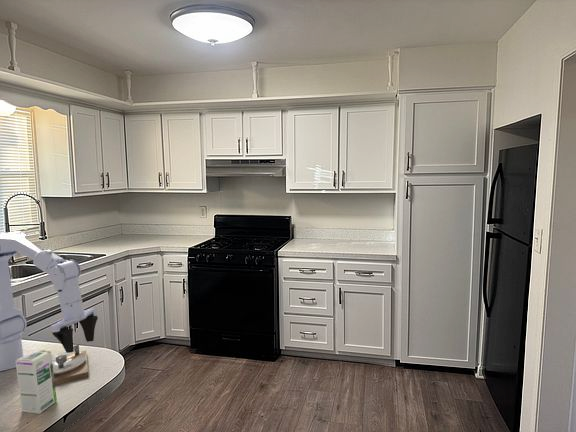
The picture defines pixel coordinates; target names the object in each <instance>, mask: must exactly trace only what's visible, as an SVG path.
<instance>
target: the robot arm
mask: <svg viewBox="0 0 576 432" xmlns="http://www.w3.org/2000/svg"><path fill="white" fill-rule="evenodd" d="M15 254H21V255H23V256H25V257H26V258H29V259H30V260H33V261H32V262H33V265H34V267H36V268H37V269H39V270H41V271H42V272H44V273H46V274H47V275H48V279H49V281H50V282H51V283H52V285H53V287H54V288H53V289H54V290H55V291H56V292H57V296H58V302H59V306H60V310H61V315H62V319H61V320H59V321H57V322H56V323H53V324H51V325H50V329H51V333H52V336H54V337H55V338H56V339H57V340H58V342H59V343H60V344H61V345H62V347H63V349H64V352H66V353H71V352H73V351H74V341H73V334H74V333H73V332H74V328H69V327H70V326H72V325H75V324H76V323H78V322H79V324H80V326H81V328H82V330H83V331H82V332H83V334H84V337H85V341H86V343H88V342H93V341H95V340H94V339H95V329H96V324H97V321H98V319H99V318H98V315H97V311H96V308H95V307H94V308H88V309H85V308H84V303H83V299H82V294H81V289H80V284H79V280H78V278H79V277H80V276H81V266H80V264H79V263H78V262H77V261H76V260H75V259H69V260H68V259H64V258H63V257H61V256H59V255H58V254H56V253H55V252H53V250H51V249H43V250H42V249H41V248H39V247H38V246H36V245H35V244H34V243H32V242H31V241H30V240H29V239H28V236H27V234H26V233H24V232H23V231H20V230H15V231H11V232H4V233H0V372H2V371H6V370H11V369H12V370H13V369H16V360H17V359H20V358H21V357H23V356H25V355H27V354H28V353H24V351H23V349H24V348H23V342H22V341H23V339H22V336H23V335H24V332H25V331H26V329H27V325H28V324H27V323H28V322H27V320H26V317H25V316H24V315H25V314H24V311H23V310H21V309H19V308H16V307H15V302H14V295H13V287H12V281H11V273H10V266H9V260H10V259H11V258H12V257H13V256H14V255H15Z"/></svg>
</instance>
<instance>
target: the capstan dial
mask: <svg viewBox="0 0 576 432" xmlns="http://www.w3.org/2000/svg"><path fill="white" fill-rule="evenodd" d="M73 346H74V351H73V352H71V353H66V351H63V352H59V353H56V354H52V363H53V372H54V376H56V375H61V374H65V373H68V372H71V371H73V370H75V369H77V368H79V367H80V366H82V365H83V364H84V362H85V354H84V353H82V352H81V351H80V345H79V344H77V343H75V344H73Z"/></svg>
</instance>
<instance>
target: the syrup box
mask: <svg viewBox="0 0 576 432" xmlns="http://www.w3.org/2000/svg"><path fill="white" fill-rule="evenodd" d="M26 354H27V355H25V356H23V357H21V358H20V359H17V360H16V368H15V369H16V375H17V382H18V390H19V399H20V400H19V401H20V406H21V407H20V408H21V412H23V413H26V414H27V413H28V414H35V415H36V414H37V415H40V414H42V413H43V412H44V411H45V410H47V409H48V408H49V407H51V406H52V405H53V404H55V403H56V402H57V401H58V400H57V392H56V385H55V380H54V372H53V363H52V355H53V354H52V351H51V350H45V349H40V350H39V349H37V350H35V349H34V350H32V351H30V352H29V353H26Z"/></svg>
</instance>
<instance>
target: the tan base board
mask: <svg viewBox="0 0 576 432" xmlns="http://www.w3.org/2000/svg"><path fill="white" fill-rule="evenodd" d="M80 352H82V353H84V354H85V362H84V364H83V365H82V366H80V367H79V368H77V369H75V370H73V371H71V372H68V373H65V374H61V375H56V376H54V380H55V386H56V385H60V384H64V383H68V382H72V381H76V380H80V379H84V378H88V377H89V366H88V356H87V355H88V354H87V349H86V350H81V351H80Z"/></svg>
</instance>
